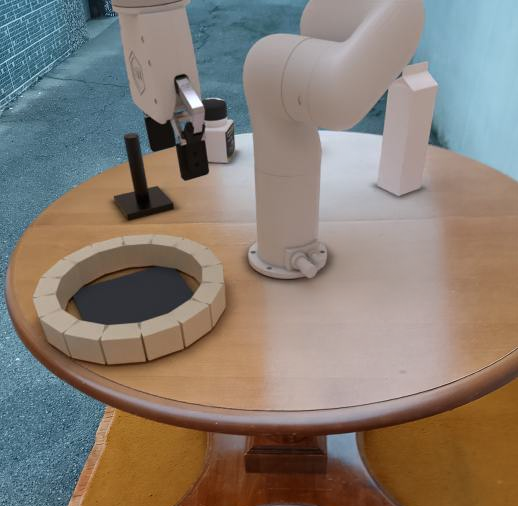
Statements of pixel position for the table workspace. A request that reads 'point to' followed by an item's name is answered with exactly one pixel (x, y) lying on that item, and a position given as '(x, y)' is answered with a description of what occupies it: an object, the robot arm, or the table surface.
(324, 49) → the robot arm
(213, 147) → the medicine bottle
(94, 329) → the hoop
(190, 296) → the mat
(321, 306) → the table surface
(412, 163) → the milk
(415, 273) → the table surface
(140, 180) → the post
